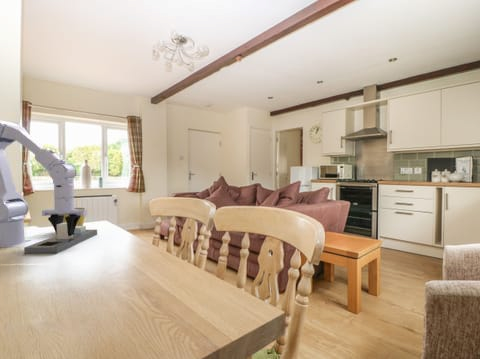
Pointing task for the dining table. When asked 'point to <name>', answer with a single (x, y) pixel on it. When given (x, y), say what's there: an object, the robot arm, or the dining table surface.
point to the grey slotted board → (58, 243)
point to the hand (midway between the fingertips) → (65, 235)
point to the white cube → (80, 229)
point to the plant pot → (80, 221)
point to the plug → (62, 231)
